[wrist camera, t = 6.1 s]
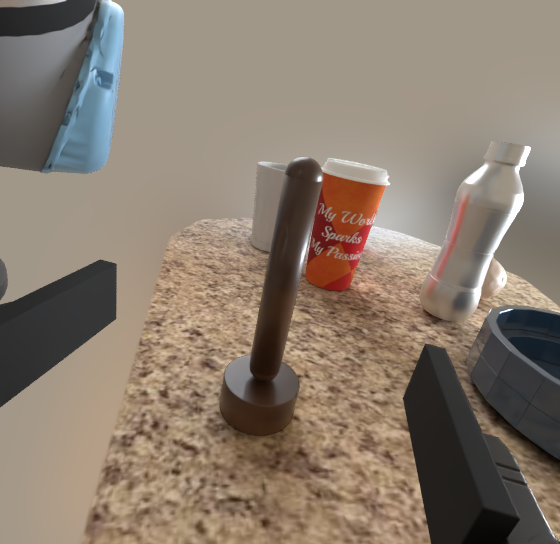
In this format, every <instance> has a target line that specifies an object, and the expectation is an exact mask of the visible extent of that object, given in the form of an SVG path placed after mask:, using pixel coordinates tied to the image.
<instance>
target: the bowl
mask: <svg viewBox="0 0 560 544" xmlns="http://www.w3.org/2000/svg"><path fill="white" fill-rule="evenodd" d="M466 362H467V367H468V371H469V376H470V378H471V379H472V381H473V382H474V384H475V385H476V386H477V388H478V389H479V391H480V392H481V394H482V395H483V397H484V398H485V399H486V401H487V402H488V403H489V404H490V405H491V406H492V407H493V408H494V409H495V410H496V411H497V412H498V413H500V414H501V415H502V416H503V417H504V418H505V419H506V420H507V421H508V422H509V423H510V424H511V425H512V426H513V427H514V428H516V429H517V430H518V431H519V432H521V433H522V434H523V435H524V436H526V437H527V438H528V439H529V440H531V441H532V442H533V443H535V444H536V445H538V446H539V447H540V448H542V449H543V450H545V451H546V452H547V453H549V454H551V455H552V456H554V457H555V458H557V459H558V460H560V313H558V312H554V311H550V310H545V309H540V308H535V307H529V306H518V305H503V306H500V307H496V308H492V309H491V310H490V311H489V313H488V315H487V317H486V319H485V321H484V323H483V325H482V327H481V329H480V331H479V333H478V335H477V338H476V340H475V342H474V344H473V346H472V348H471V350H470V352H469V354H468V357H467V359H466Z"/></svg>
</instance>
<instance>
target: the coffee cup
mask: <svg viewBox="0 0 560 544" xmlns="http://www.w3.org/2000/svg"><path fill="white" fill-rule="evenodd" d="M321 169H322V172H323V182H322V187H321V191H320V195H319V200H318V204H317V208H316V213H315V217H314V223H313V229H312V235H311V241H310V248H309V254H308V260H307V267H306V279H307V280H308V281H309V282H310V283H312V284H314V285H315V286H318V287H320V288H324V289H327V290H334V291H342V290H346V289H348V288H349V286H350V283H351V281H352V278H353V276H354V273H355V270H356V268H357V265H358V262H359V259H360V257H361V254H362V251H363V248H364V245H365V243H366V240H367V237H368V234H369V231H370V229H371V226H372V223H373V220H374V217H375V214H376V212H377V209H378V206H379V203H380V200H381V198H382V195H383V192H384V189H385V186H386V185H390V183H389V182H388V181H387V179H388V177H389V176H388V175H387V170H384V169H381V168H377V167H374V166H370V165H365V164H361V163H356V162H351V161H346V160H339V159H332V158H329V159H327V161H326V163H325V164H324V166H323V167H321Z"/></svg>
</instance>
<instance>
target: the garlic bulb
mask: <svg viewBox="0 0 560 544" xmlns="http://www.w3.org/2000/svg"><path fill="white" fill-rule="evenodd" d="M505 283H506V273H505V271H504V269H503V267H502V266H501V264H500V263H498V262H497V261H496V260H495V259H494V258H493V257H492V259H491V261H490V264H489V267H488V270H487V273H486V276H485V279H484V282H483V285H482V287H481V289H482V290H481V296H480V298H481V299H484V298H489V297H492V296H494V295H496V294H497V293H498V292H499V291H500V290H501V289H502V288H503V287H504V285H505Z"/></svg>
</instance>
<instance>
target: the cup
mask: <svg viewBox="0 0 560 544" xmlns="http://www.w3.org/2000/svg"><path fill="white" fill-rule="evenodd" d="M287 166H288V165H284V164H278V163H271V162H258V163H257V176H256V192H255V203H254V216H253V227H252V236H251V244H252V245H253V246H254V247H256V248H258V249H260V250H263V251H267V252H270V249H271V244H272V238H273V233H274V227H275V222H276V217H277V211H278V206H279V200H280V195H281V190H282V184H283V179H284V173H285V170H286V168H287Z"/></svg>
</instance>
